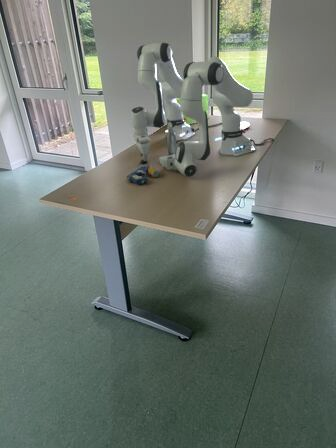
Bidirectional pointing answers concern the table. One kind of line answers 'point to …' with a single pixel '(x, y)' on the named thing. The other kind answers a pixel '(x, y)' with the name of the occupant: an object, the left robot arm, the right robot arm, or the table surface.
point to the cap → (143, 162)
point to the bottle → (171, 141)
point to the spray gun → (142, 174)
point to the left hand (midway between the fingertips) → (143, 157)
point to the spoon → (244, 125)
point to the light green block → (204, 105)
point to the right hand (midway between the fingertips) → (172, 154)
